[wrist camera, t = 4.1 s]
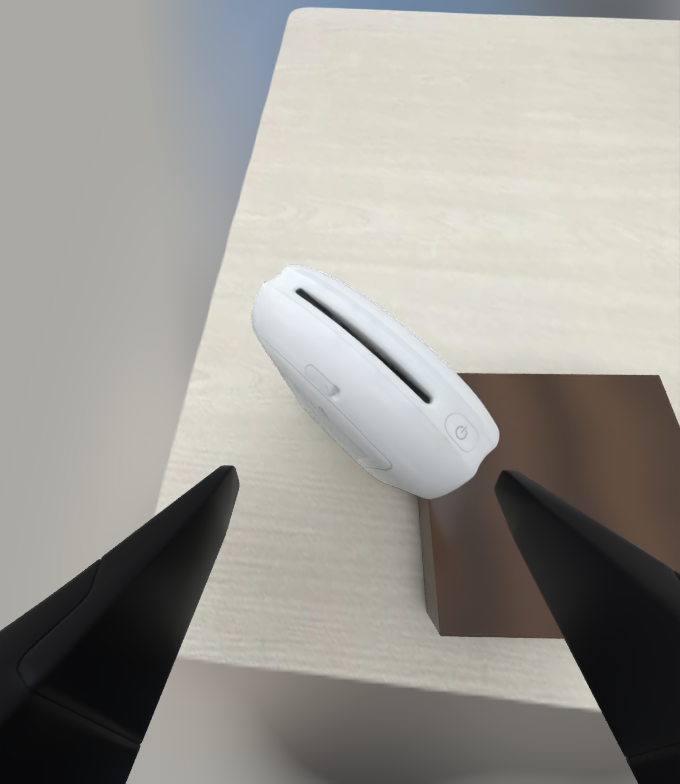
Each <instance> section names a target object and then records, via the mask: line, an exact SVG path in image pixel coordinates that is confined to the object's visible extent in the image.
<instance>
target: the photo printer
mask: <svg viewBox="0 0 680 784" xmlns="http://www.w3.org/2000/svg"><path fill="white" fill-rule="evenodd" d="M251 316H252V327H253V330H254V332H255V334H256V336H257V338H258V340H259V341H260V343H261V344H262V346H263V348H264V349H265V351H266V353H267V354H268V355H269V357H270V358H271V360H272V361H273V363H274V364H275V366H276V367H277V369H278V371H279V372H280V374H281V375H282V377H283V378H284V380H285V381H286V383H287V384H288V386H289V388H290V389H291V391H292V392H293V394H294V395H295V397H296V398H297V400H298V401H299V403H300V404H301V405H302V406H303V407H304V409H305V410H306V411H307V412H308V413H309V414H310V415H311V416H312V417H313V418H314V419H315V420H316V421H317V422H318V424H319V425H320V426H321V427H322V428H323V429H324V430H325V431H326V432H327V433H328V434H329V435H330V436H331V437H332V438H333V439H334V440H335V441H336V442H337V443H338V444H339V445H340V446H341V447H342V448H343V449H344V450H345V451H346V452H347V453H348V454H349V455H350V456H351V457H352V458H353V459H354V460H355V461H356V462H357V463H358V464H359V465H360V466H362V467H363V468H364V469H365V470H366V471H367V472H368V473H370V474H371V475H372V476H374V477H375V478H377V479H378V480H380V481H381V482H384V483H387V484H389V485H392V486H394V487H397V488H400V489H402V490H404V491H407V492H409V493H412V494H414V495H417V496H419V497H422V498H425V499H433V498H437V497H441V496H443V495H446V494H448V493H450V492H452V491H453V490H455V489H457V488H459V487H460V486H461V485H463V484H464V483H466V482H467V481H469V480H470V479H471V478H472V477H473V476H474V475H475V474H476V472H477V470H478V467H479V465H480V463H481V462H482V460H483V459H484V458H485V456H486V455H488V454H489V453H490V452H491V451H492V450H493V449H494V448H495V447H496V446H497V444H498V441H499V430H498V427H497V425H496V424H495V422H494V420H493V419H492V417H491V416H490V414H489V412H488V411H487V409H486V408H485V406H484V405H483V404H482V402H481V401H480V400H479V398H478V397H477V396H476V394H475V393H474V392H473V391H472V390H471V389H470V387H469V386H468V385H467V384H466V383H465V382H464V381H463V380H462V379H461V378H460V377H459V376H458V375H457V373H456V372H455V371H454V370H453V369H452V368H451V367H450V366H449V365H448V364H447V363H446V362H445V361H444V360H443V359H442V358H441V357H440V356H439V355H438V354H437V353H435V352H434V351H433V350H432V349H431V348H430V347H429V346H428V345H427V344H426V343H424V342H423V341H422V340H421V339H420V338H419V337H418V336H416V335H415V334H414V333H413V332H412V331H411V330H409V329H408V328H407V327H406V326H405V325H403V324H402V323H401V322H399V321H398V320H397V319H396V318H395V317H394V316H392V315H391V314H390V313H388V312H387V311H386V310H384V309H383V308H382V307H380V306H379V305H377V304H376V303H375V302H373V301H372V300H370V299H369V298H367V297H366V296H365V295H363V294H362V293H360V292H359V291H357V290H356V289H354V288H352V287H351V286H349V285H347V284H346V283H344V282H342V281H340V280H338V279H337V278H335V277H333V276H331V275H329V274H326V273H324V272H321V271H319V270H316V269H313V268H310V267H306V266H302V265H289V266H286V267H285V268H284V270H283V271H282V272H281V273H280V274H279V275H278V276H277V277H276V278H274V279H272V280H270V281H267V282H264V283H263V284H262V286H261V288H260V289H259V291H258V293H257V295H256V298H255V301H254V303H253V308H252V315H251Z"/></svg>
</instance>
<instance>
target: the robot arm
mask: <svg viewBox="0 0 680 784" xmlns="http://www.w3.org/2000/svg"><path fill="white" fill-rule="evenodd" d="M238 491H239V479H238V475H237V472H236V468H235V467H234V466H227V465H223V466H220V467H219V468H218V469H216V470H215V471H214V472H212V473H211V474H210V475H208V476H207V477H206V478H204V479H203V480H202V481H201V482H199V483H198V484H197V485H195V486H194V487H193V488H191V489H190V490H189V491H187V492H186V493H185V494H184V495H182V496H181V497H180V498H178V499H177V500H176V501H174V502H173V503H172V504H170V505H169V506H168V507H167V508H165V509H164V510H163V511H161V512H160V513H159V514H157V515H156V516H155V517H153V518H152V519H151V520H150V521H148V522H147V523H146V524H144V525H143V526H142V527H140V528H139V529H138V530H136V531H135V532H134V533H132V534H131V535H130V536H129V537H127V538H126V539H125V540H123V541H122V542H121V543H119V544H118V545H117V546H115V548H113V549H112V550H110V551H109V552H108V553H107V554H105V555H104V556H103V557H102V558H101V559H99V560H97V561H96V562H95V563H93V564H92V565H91V566H89V567H88V568H87V569H85V570H84V571H83V572H81V573H80V574H79V575H77V576H76V577H75V578H73V579H72V580H71V581H69V582H68V583H67V584H65V585H64V586H63V587H61V588H60V589H58V590H57V591H56V592H54V593H53V594H52V595H50V596H49V597H48V598H46V599H45V600H43V601H42V602H40V603H39V604H38V605H36V606H35V607H34V608H32V609H31V610H29V611H28V612H26V613H25V614H24V615H22V616H21V617H19V618H18V619H16V620H15V621H14V622H12V623H11V624H9V625H8V626H6V627H5V628H4V629H2V630H1V631H0V784H126V781H127V779H128V776H129V774H130V771H131V769H132V766H133V764H134V761H135V759H136V756H137V754H138V751H139V749H140V744H141V743H142V741H143V739H144V736H145V733H146V731H147V729H148V726H149V724H150V721H151V719H152V716H153V714H154V711H155V709H156V706H157V704H158V701H159V699H160V696H161V694H162V691H163V689H164V687H165V684H166V682H167V679H168V677H169V674H170V672H171V669H172V666H173V664H174V662H175V659H176V657H177V654H178V652H179V649H180V647H181V644H182V642H183V640H184V637H185V635H186V632H187V630H188V627H189V625H190V622H191V620H192V617H193V615H194V612H195V610H196V607H197V605H198V602H199V600H200V597H201V595H202V592H203V590H204V588H205V585H206V583H207V580H208V578H209V575H210V573H211V570H212V568H213V565H214V563H215V560H216V558H217V555H218V553H219V550H220V548H221V545H222V543H223V540H224V538H225V535H226V532H227V529H228V525H229V522H230V518H231V515H232V512H233V508H234V505H235V501H236V498H237V494H238ZM494 491H495V495H496V497H497V500H498V502H499V505H500V507H501V510H502V512H503V515H504V517H505V520H506V522H507V525H508V527H509V530H510V532H511V535H512V537H513V539H514V541H515V543H516V545H517V548H518V550H519V552H520V553H521V555H522V557H523V559H524V561H525V563H526V565H527V567H528V569H529V571H530V573H531V575H532V577H533V579H534V581H535V583H536V585H537V587H538V589H539V590H540V592H541V594H542V596H543V598H544V600H545V602H546V604H547V606H548V608H549V610H550V612H551V614H552V616H553V618H554V620H555V622H556V624H557V626H558V628H559V629H560V631H561V633H562V635H563V637H564V639H565V641H566V643H567V645H568V647H569V649H570V651H571V653H572V655H573V657H574V659H575V661H576V663H577V665H578V667H579V668H580V670H581V672H582V674H583V676H584V678H585V680H586V682H587V684H588V686H589V688H590V690H591V692H592V694H593V696H594V698H595V700H596V702H597V704H598V705H599V707H600V709H601V711H602V713H603V715H604V717H605V719H606V721H607V723H608V725H609V727H610V729H611V731H612V732H613V735H614V736H615V739H616V741H617V743H618V744H619V746H620V748H621V750H622V752H623V754H624V756H625V757H626V760H627V763H628V765H629V766H630V768H631V770H632V772H633V774H634V776H635V778H636V780H637V782H638V784H680V573H679V572H678V571H675V570H673V569H672V568H671V567H670V566H668V565H666V564H665V563H663V562H662V561H660V560H659V559H657V558H655V557H654V556H652V555H651V554H649V553H647V552H646V551H644V550H643V549H641V548H640V547H638V546H636V545H635V544H633V543H632V542H630V541H628V540H627V539H625V538H624V537H622V536H620V535H619V534H617V533H616V532H614V531H613V530H611V529H609V528H608V527H606V526H605V525H603V524H601V523H600V522H598V521H597V520H595V519H594V518H592V517H590V516H589V515H587V514H586V513H584V512H582V511H581V510H579V509H578V508H576V507H574V506H573V505H571V504H570V503H568V502H567V501H565V500H563V499H562V498H560V497H559V496H557V495H555V494H554V493H552V492H551V491H549V490H548V489H546V488H544V487H543V486H541V485H540V484H538V483H536V482H535V481H533V480H532V479H530V478H528V477H527V476H525V475H524V474H522V473H521V472H519V471H517V470H502V471H501V472H500V475H499V477H498V479H497V481H496V484H495V486H494Z"/></svg>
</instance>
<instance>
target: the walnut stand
mask: <svg viewBox="0 0 680 784" xmlns="http://www.w3.org/2000/svg"><path fill="white" fill-rule="evenodd" d="M457 375H458V376H459V377H460V378H461V379H462V380H463V381H464V382H465V383H466V384H467V385H468V386H469V387H470V389H471V390H472V391H473V392H474V393H475V394H476V396H477V397H478V398H479V400H480V401H481V402H482V404H483V405H484V406H485V408H486V409H487V411H488V412H489V414H490V416H491V417H492V419H493V420H494V422H495V424H496V425H497V427H498V430H499V441H498V444H497V446H496V447H495V448H494V449H493V450H492V451H491V452H490V453H489V454H488V455H486V456H485V458H484V459H483V460H482V462H481V463H480V465H479V467H478V470H477V472H476V474H475V475H474V476H473V477H472V478H471V479H470V480H469V481H467V482H466V483H464V484H463V485H461V486H460V487H459V488H457V489H455V490H453V491H452V492H450V493H448V494H446V495H443V496H441V497H437V498H433V499H425V498H422V497H419V496H418V502H419V516H420V529H421V542H422V555H423V569H424V582H425V595H426V609H427V614H428V615H429V617H430V619H431V620H432V622H433V624H434V626H435V627H436V629H437V631H438V632H439V634H440V636H460V637H508V638H557V639H564V637H563V635H562V633H561V631H560V629H559V628H558V626H557V624H556V622H555V620H554V618H553V616H552V614H551V612H550V610H549V608H548V606H547V604H546V602H545V600H544V598H543V596H542V594H541V592H540V590H539V589H538V587H537V585H536V583H535V581H534V579H533V577H532V575H531V573H530V571H529V569H528V567H527V565H526V563H525V561H524V559H523V557H522V555H521V553H520V552H519V550H518V548H517V545H516V543H515V541H514V539H513V537H512V535H511V532H510V530H509V527H508V525H507V522H506V520H505V517H504V515H503V512H502V510H501V507H500V505H499V502H498V500H497V497H496V495H495V491H494V486H495V484H496V481H497V479H498V477H499V475H500V472H501V471H502V470H517V471H519V472H521V473H522V474H524V475H525V476H527V477H528V478H530V479H532V480H533V481H535V482H536V483H538V484H540V485H541V486H543V487H544V488H546V489H548V490H549V491H551V492H552V493H554V494H555V495H557V496H559V497H560V498H562V499H563V500H565V501H567V502H568V503H570V504H571V505H573V506H574V507H576V508H578V509H579V510H581V511H582V512H584V513H586V514H587V515H589V516H590V517H592V518H594V519H595V520H597V521H598V522H600V523H601V524H603V525H605V526H606V527H608V528H609V529H611V530H613V531H614V532H616V533H617V534H619V535H620V536H622V537H624V538H625V539H627V540H628V541H630V542H632V543H633V544H635V545H636V546H638V547H640V548H641V549H643V550H644V551H646V552H647V553H649V554H651V555H652V556H654V557H655V558H657V559H659V560H660V561H662V562H663V563H665V564H666V565H668V566H670V567H671V568H672V569H673V570H675V571H678V572H679V573H680V426H679V424H678V421H677V419H676V416H675V414H674V411H673V409H672V406H671V404H670V401H669V399H668V396H667V394H666V391H665V389H664V386H663V384H662V381H661V379H660V376H659V375H581V374H480V373H457Z"/></svg>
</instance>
